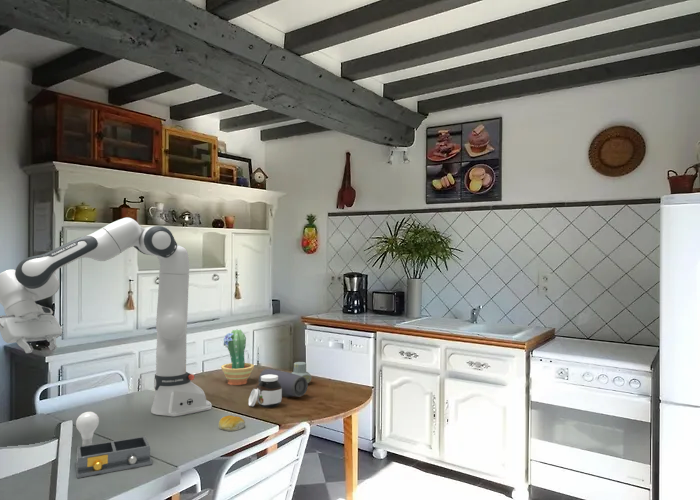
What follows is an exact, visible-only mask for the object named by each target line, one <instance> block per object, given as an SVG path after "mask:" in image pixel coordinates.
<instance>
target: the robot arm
mask: <svg viewBox="0 0 700 500" xmlns="http://www.w3.org/2000/svg"><path fill="white" fill-rule="evenodd" d="M133 247H134V248H135V249H136V250H137V251H138V252H140V253H141V254H143V255H147V256H155V257H157V259H158V261H159V262H158V263H159V271H158V295H157V303H156V304H157V307H156V319H155V320H156V324H155V328H156V329H155V330H156V334H157V335H156V353H155V354H156V355H155V374H154V379H153V381H154V383H153V388H154V396H153V402H152V404H151V409H150V413H151V414H153V415H157V416H168V417H179V416H180V417H181V416H184V415H189V414H194V413H199V412H205V411H208V410H211V409H212V407H213V405H212V403H211V401H209V400H207V397H206V393H205V391H204V390H203V388H201V386H199V385H197V384H195V383H194V382H192V381H193V380H194V379H195V375H194V374H193V373H190V372H187V329H188V311H189V310H188V309H189V308H188V307H189V305H188V304H189V287H190V285H189V281H190V259H189V253H188V250H187V249H186V248H185V247H184V246H181V245H179V244H178V243H177V242H176V239H175V236H174V235H173V233H172V231H170V230H169V228H167V227H166V226H165V227H164V226H161V225H151V226H146V227H142V226H141V225H140V224H139V222H137V220H135V219H134V218H132V217H123V218H120V219H117V220H115V221H113V222H111V223H109V224H107V225H105V226H103V227H101V228H99V229H97V230H96V231H93V232H92V233H90V234H87V235H83V236H80V237H77V238H76V239H73V240H71V241H69V242H66V243H65V244H62V245H61V246H58V247H56V248H54V249H52V250H50V251H47V252H45V253H42V254H38V255H32V256H29V257H26V258H24V259H23V260H21V261H20V262H19V263H18V265H17V266H16V267H15V269H7V270H4V271H2V272H0V305H1V306H2V307H3V311H4V314H3V315H2V314H1V315H0V335H1V337H2V340H3V342H4V343H6V344H15V343H16V344H17V345H18V346H19V347H20V348H21V349H22V350H24V352H25V354H30V353H32V352H34V348H33V346H32V345H31V344H29V343H28V342H37V341H47V342H48V343H49V345H48V346H47V347H48V349H49V350H50V351H55V350H57V349H58V345H57V339H58V338H59V337H60V336H61V335H62V334H63V328H62V327H61V325H60V323H59V321H58V319H57V318H56V317H55V316H54V315H53V314H54V311H53V310H52V308H50V307H46V306H43V305H40V304H38V303H37V302H38V301H42V300H45V299H49V298H51V297H53V296H54V295H55V294H56V293H57V292H58V291H59V289H60V286H61V284H60V280H59V278H58V276H57V274H56V271H58V270H59V269H61V268H63V267H65V266H67V265H70V264H71V263H73V262H75V261H77V260H80V259H84V258H86V259H87V258H89V259H92V260H94V261H98V262H106V261H109V260H112V259H113V258H115V257H117V256H119V255H120V254H122V253H123V252H125V251H126V250H128V249H129V248H133Z"/></svg>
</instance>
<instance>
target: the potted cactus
mask: <svg viewBox="0 0 700 500" xmlns="http://www.w3.org/2000/svg"><path fill="white" fill-rule="evenodd" d="M246 343H247V337H246V335H245V333H244V332H243V331H242V329H236V330H235V329H232V331H231V332H228V333H226V335H224V337H223V345H224V346H227V350H228V352H229V355H230V363H225V364H223V365H221V370H222V372H223V373H224V377H225V378H226V379H227V384H228V385H231V386H241V385H246V384H247V383H248V379H249V377H250V376H251V374H252V371H253V370H254V367H255V364H253V363H249V362H246V361H245V360H246V359H245V350H246Z"/></svg>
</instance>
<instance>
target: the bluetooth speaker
mask: <svg viewBox="0 0 700 500" xmlns="http://www.w3.org/2000/svg"><path fill="white" fill-rule="evenodd" d="M269 374H272V375H277V376H278V382H279V383H280V384H281V388H282V397H285V398H291V397H297V398H298V397H299V398H300V397H303V396H304V395H305V394H306V392H307V390H308V387H309V383H307V380H306V379H305V378H304V377H302V376H299V375H296V374H292V372H288V371H282V370H278V369H273V368H272V369H271V368H265V369H263V370H262V371H261V372H260V373H259V377H258V383H259V382H260V381H261V376H263V375H269Z"/></svg>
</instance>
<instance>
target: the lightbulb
mask: <svg viewBox="0 0 700 500" xmlns="http://www.w3.org/2000/svg"><path fill="white" fill-rule="evenodd" d="M99 423H100V417H99V416H98V414H97V413H96V412H94V411H85V412H83V413H81V414H79V416H78V417H77V418H76V421H75V427H76V429H77V430H78V432H79V434H80V437H81V441H82V444H81V446H85V445H91V444H93V437H94V434H95V431H96V429H97V428H98V427H99Z"/></svg>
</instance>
